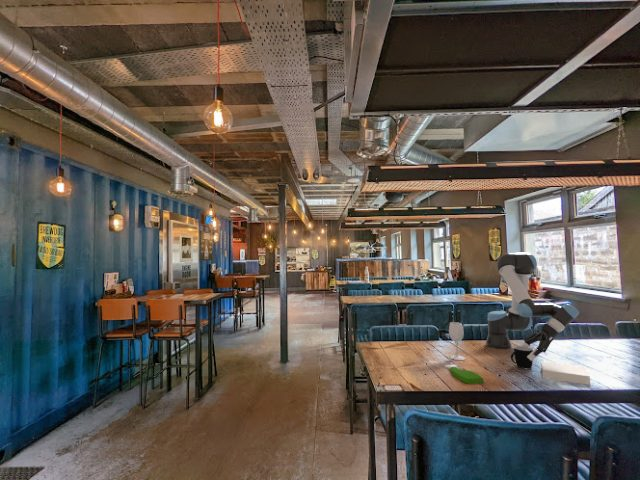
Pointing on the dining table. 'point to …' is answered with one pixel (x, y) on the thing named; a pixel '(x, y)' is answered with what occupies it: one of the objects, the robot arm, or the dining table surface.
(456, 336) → the wineglass
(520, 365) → the mug
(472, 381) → the spray bottle
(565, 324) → the robot arm
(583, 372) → the flat plate
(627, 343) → the dining table surface
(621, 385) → the dining table surface
